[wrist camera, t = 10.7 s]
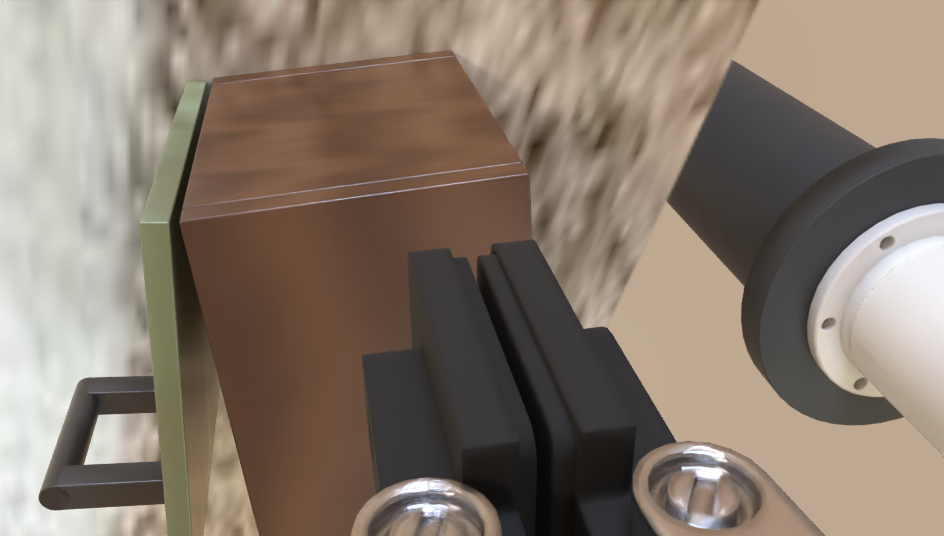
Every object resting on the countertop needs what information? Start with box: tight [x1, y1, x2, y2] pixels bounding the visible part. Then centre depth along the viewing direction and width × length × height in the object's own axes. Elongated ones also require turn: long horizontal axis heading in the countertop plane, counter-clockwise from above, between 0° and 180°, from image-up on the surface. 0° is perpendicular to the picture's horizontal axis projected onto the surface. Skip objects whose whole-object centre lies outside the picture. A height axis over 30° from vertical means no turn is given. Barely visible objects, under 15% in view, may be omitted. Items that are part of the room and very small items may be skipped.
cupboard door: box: [39, 81, 220, 536], centre depth 33 cm, size 6×15×14 cm, turn 175°
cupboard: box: [179, 51, 532, 536], centre depth 34 cm, size 10×15×14 cm
